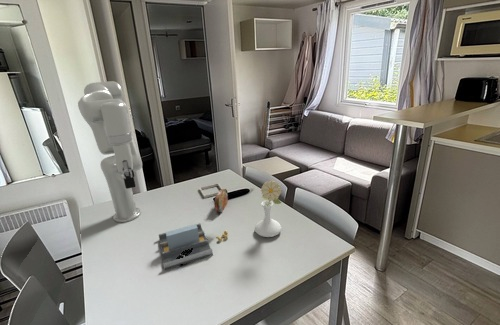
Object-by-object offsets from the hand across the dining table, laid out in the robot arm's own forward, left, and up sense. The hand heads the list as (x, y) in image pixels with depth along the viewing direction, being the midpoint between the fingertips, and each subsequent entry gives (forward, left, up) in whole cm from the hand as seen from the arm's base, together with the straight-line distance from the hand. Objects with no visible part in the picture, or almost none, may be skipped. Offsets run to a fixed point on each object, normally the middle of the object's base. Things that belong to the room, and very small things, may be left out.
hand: (130, 182), depth 99 cm
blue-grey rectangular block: (+8, +15, -28) cm, 33 cm away
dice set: (+9, +31, -30) cm, 44 cm away
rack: (+8, +15, -29) cm, 34 cm away
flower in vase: (+15, +50, -30) cm, 60 cm away
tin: (-15, +38, -30) cm, 50 cm away
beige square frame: (-35, +38, -29) cm, 59 cm away
